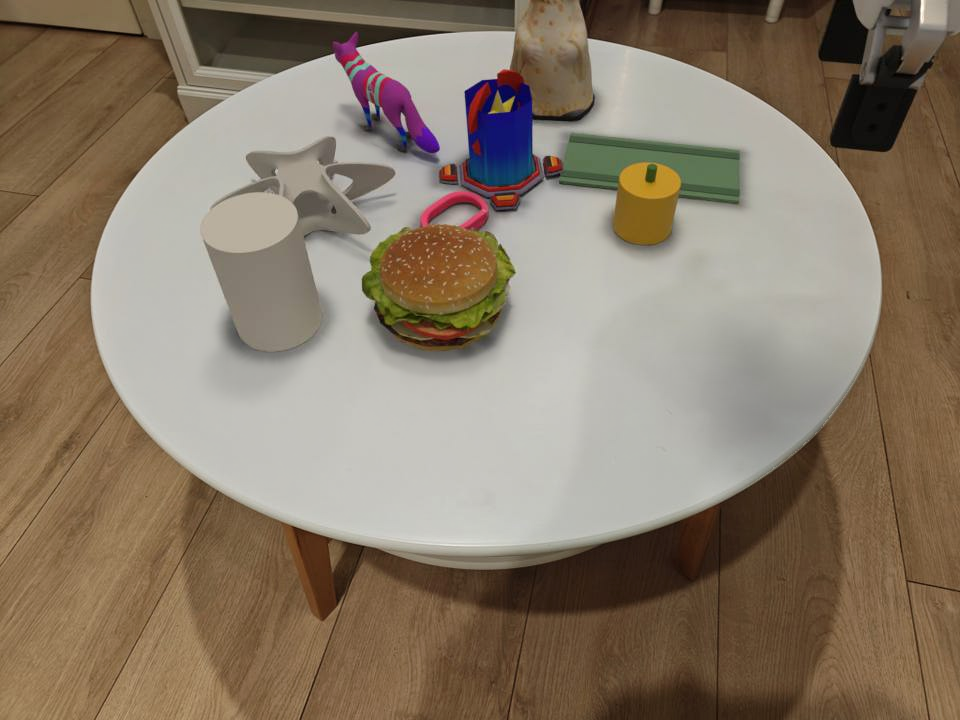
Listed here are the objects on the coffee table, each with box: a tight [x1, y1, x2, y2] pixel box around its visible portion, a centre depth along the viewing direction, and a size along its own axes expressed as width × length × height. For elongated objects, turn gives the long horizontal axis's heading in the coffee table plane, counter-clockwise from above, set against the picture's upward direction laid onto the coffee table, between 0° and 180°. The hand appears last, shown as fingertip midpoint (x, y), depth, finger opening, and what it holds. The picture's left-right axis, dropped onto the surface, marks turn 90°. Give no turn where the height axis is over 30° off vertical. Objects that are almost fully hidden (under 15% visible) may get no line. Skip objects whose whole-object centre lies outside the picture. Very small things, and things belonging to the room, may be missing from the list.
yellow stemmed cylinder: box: [612, 163, 681, 246], centre depth 79 cm, size 6×6×8 cm
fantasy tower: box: [438, 68, 564, 211], centre depth 84 cm, size 12×12×12 cm
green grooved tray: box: [558, 132, 741, 204], centre depth 89 cm, size 20×10×1 cm, turn 77°
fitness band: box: [419, 190, 490, 231], centre depth 83 cm, size 8×6×2 cm
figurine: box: [509, 0, 596, 122], centre depth 92 cm, size 12×10×20 cm
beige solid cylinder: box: [199, 191, 323, 353], centre depth 69 cm, size 8×8×12 cm
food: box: [361, 223, 517, 352], centre depth 72 cm, size 14×14×8 cm
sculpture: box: [209, 135, 396, 237], centre depth 82 cm, size 18×20×6 cm
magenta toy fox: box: [332, 31, 441, 154], centre depth 91 cm, size 4×18×10 cm, turn 45°
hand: (850, 101), depth 45 cm, fingers open, 9 cm apart
